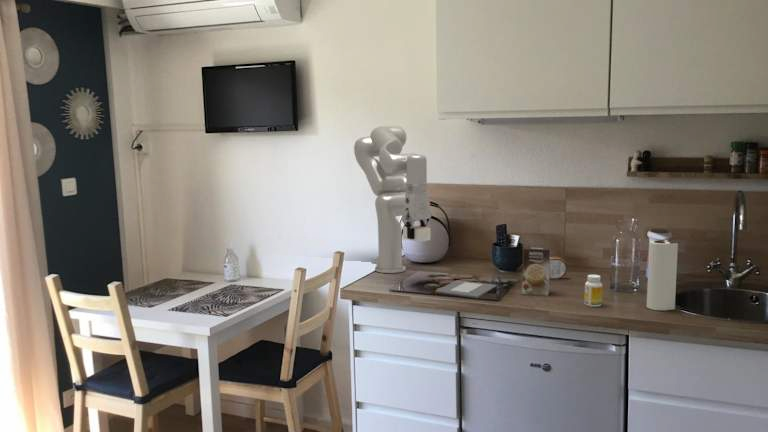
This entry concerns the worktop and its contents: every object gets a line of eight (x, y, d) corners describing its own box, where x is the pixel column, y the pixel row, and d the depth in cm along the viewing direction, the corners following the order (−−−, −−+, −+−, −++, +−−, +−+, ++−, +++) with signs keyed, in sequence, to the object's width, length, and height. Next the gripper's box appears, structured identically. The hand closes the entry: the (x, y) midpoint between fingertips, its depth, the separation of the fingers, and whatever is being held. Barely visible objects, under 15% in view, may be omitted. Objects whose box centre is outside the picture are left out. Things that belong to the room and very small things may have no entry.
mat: (435, 292, 228) (435, 290, 228) (456, 281, 243) (456, 279, 243) (477, 298, 220) (477, 295, 220) (497, 286, 235) (497, 284, 235)
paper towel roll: (642, 307, 206) (645, 241, 203) (654, 304, 209) (657, 239, 206) (662, 313, 199) (665, 244, 196) (674, 309, 203) (678, 242, 200)
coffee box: (521, 294, 224) (522, 248, 222) (522, 289, 230) (523, 245, 228) (548, 296, 221) (549, 249, 219) (549, 291, 227) (550, 246, 225)
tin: (566, 278, 247) (566, 256, 245) (567, 280, 243) (568, 258, 242) (525, 277, 248) (526, 256, 247) (526, 279, 245) (527, 257, 244)
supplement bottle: (581, 305, 210) (582, 276, 208) (588, 301, 213) (589, 273, 212) (597, 308, 206) (598, 278, 205) (604, 304, 210) (605, 275, 208)
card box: (403, 238, 241) (402, 226, 241) (413, 236, 245) (413, 224, 244) (419, 241, 235) (419, 229, 234) (430, 240, 238) (430, 227, 237)
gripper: (407, 191, 228) (408, 241, 231) (439, 187, 240) (439, 235, 243) (392, 190, 234) (393, 239, 236) (424, 186, 246) (424, 233, 248)
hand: (416, 237), depth 239 cm, fingers closed on card box, 5 cm apart
